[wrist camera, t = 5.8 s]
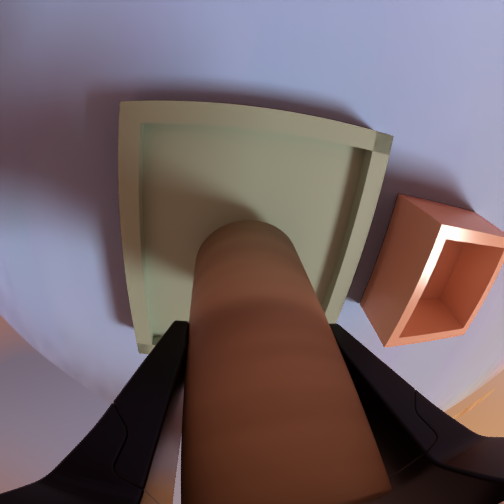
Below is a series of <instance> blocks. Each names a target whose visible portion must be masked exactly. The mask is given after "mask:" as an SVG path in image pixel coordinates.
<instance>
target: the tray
mask: <svg viewBox="0 0 504 504" xmlns="http://www.w3.org/2000/svg"><path fill="white" fill-rule="evenodd" d="M392 141H393V136H391V135H388V134H385V133H381V132H378V131H375V130H371V129H367V128H364V127H360V126H356V125H352V124H348V123H344V122H340V121H335V120H331V119H326V118H322V117H317V116H312V115H307V114H301V113H296V112H290V111H284V110H277V109H270V108H263V107H255V106H247V105H238V104H227V103H215V102H199V101H170V100H146V101H121V102H120V108H119V128H118V192H119V213H120V227H121V239H122V250H123V259H124V268H125V276H126V283H127V290H128V297H129V303H130V309H131V315H132V320H133V326H134V331H135V336H136V341H137V346H138V351H139V353H143V354H149V353H150V352H151V351H152V349H153V348H154V347H155V345H156V344H157V343H158V341H159V340H160V339H161V337H162V336H163V335H164V333H165V332H166V331H167V330H168V328H169V327H170V326H171V324H172V323H173V322H174V321H175V320H180V321H188V322H189V317H190V306H191V297H192V288H193V279H194V270H195V262H196V257H197V253H198V251H199V248H200V246H201V245H202V243H203V242H204V241H205V239H206V238H207V237H208V236H209V235H210V234H211V233H213V232H214V231H215V230H217V229H218V228H220V227H222V226H224V225H226V224H229V223H232V222H236V221H243V220H256V221H262V222H265V223H269V224H271V225H273V226H275V227H277V228H279V229H280V230H281V231H283V232H284V233H285V234H286V235H287V236H288V237H289V238H290V240H291V241H292V243H293V245H294V247H295V249H296V251H297V253H298V256H299V258H300V260H301V262H302V264H303V267H304V269H305V271H306V273H307V275H308V278H309V280H310V282H311V284H312V287H313V289H314V291H315V293H316V296H317V298H318V300H319V302H320V305H321V307H322V309H323V311H324V314H325V316H326V318H327V321H328V323H329V324H332V323H336V322H337V319H338V317H339V314H340V312H341V309H342V306H343V304H344V301H345V299H346V296H347V293H348V291H349V288H350V285H351V283H352V280H353V277H354V274H355V271H356V269H357V266H358V263H359V260H360V257H361V254H362V251H363V248H364V245H365V242H366V239H367V235H368V232H369V229H370V226H371V222H372V219H373V216H374V212H375V209H376V205H377V202H378V198H379V194H380V191H381V187H382V183H383V179H384V175H385V171H386V167H387V163H388V159H389V154H390V150H391V145H392Z"/></svg>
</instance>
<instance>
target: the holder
mask: <svg viewBox="0 0 504 504" xmlns="http://www.w3.org/2000/svg"><path fill="white" fill-rule="evenodd" d="M503 263H504V232H503V231H501V230H500V229H499V228H497V227H496V226H494V225H493V224H492V223H490V222H489V221H487V220H486V219H484V218H483V217H482V216H480V215H479V214H477V213H475V212H472V211H468V210H465V209H461V208H457V207H453V206H450V205H446V204H442V203H438V202H434V201H429V200H425V199H421V198H417V197H412V196H408V195H403V194H398V197H397V200H396V204H395V207H394V210H393V214H392V217H391V220H390V223H389V226H388V229H387V232H386V235H385V238H384V241H383V244H382V247H381V250H380V253H379V256H378V258H377V261H376V264H375V267H374V269H373V272H372V275H371V277H370V280H369V282H368V285H367V287H366V290H365V292H364V295H363V297H362V300H361V302H360V305H361V307H362V308H363V310H364V312H365V314H366V315H367V317H368V319H369V321H370V322H371V324H372V326H373V328H374V329H375V331H376V333H377V335H378V337H379V338H380V340H381V342H382V344H383V346H384V347H391V346H399V345H406V344H413V343H420V342H426V341H432V340H438V339H443V338H449V337H454V336H459V335H464V334H465V332H466V330H467V329H468V327H469V326H470V324H471V322H472V321H473V319H474V318H475V316H476V314H477V313H478V311H479V309H480V307H481V306H482V304H483V302H484V300H485V298H486V297H487V295H488V293H489V291H490V289H491V287H492V285H493V283H494V281H495V279H496V277H497V275H498V273H499V271H500V269H501V267H502V265H503Z"/></svg>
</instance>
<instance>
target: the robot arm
mask: <svg viewBox="0 0 504 504" xmlns="http://www.w3.org/2000/svg"><path fill="white" fill-rule="evenodd" d="M329 325H330V328H331V330H332V332H333V335H334V337H335V340H336V342H337V344H338V347H339V349H340V352H341V354H342V356H343V359H344V361H345V364H346V366H347V369H348V371H349V374H350V376H351V379H352V381H353V384H354V386H355V389H356V391H357V394H358V396H359V399H360V401H361V404H362V407H363V409H364V412H365V414H366V417H367V420H368V422H369V425H370V428H371V430H372V433H373V436H374V439H375V441H376V444H377V447H378V450H379V452H380V455H381V458H382V461H383V464H384V467H385V470H386V473H387V475H388V478H389V481H390V484H391V487H392V491H391V492H390V493H388V494H387V495H385V496H383V497H381V498H379V499H377V500H375V501H373V502H370V503H368V504H504V437H485V436H481V435H478V434H476V433H474V432H472V431H471V430H469V429H468V428H466V427H465V426H463V425H462V424H460V423H459V422H457V421H456V420H455V419H453V418H452V417H450V416H449V415H447V414H446V413H445V412H443V411H442V410H440V409H439V408H438V407H436V406H435V405H434V404H432V403H431V402H430V401H429V400H428V399H426V398H425V397H424V396H423V395H421V394H420V393H419V392H418V391H417V390H415V389H414V388H413V387H412V386H411V385H410V384H408V383H407V382H406V381H405V380H404V379H402V378H401V377H400V376H399V375H398V374H397V373H395V372H394V371H393V370H392V369H391V368H389V367H388V366H387V365H386V364H385V363H384V362H382V361H381V360H380V359H379V358H378V357H376V356H375V355H374V354H373V353H372V352H371V351H369V350H368V349H367V348H366V347H365V346H363V345H362V344H361V343H360V342H359V341H358V340H356V339H355V338H354V337H353V336H352V335H350V334H349V333H348V332H347V331H346V330H344V329H343V328H342V327H341V326H340V325H338V324H336V323H332V324H329ZM188 330H189V322H188V321H180V320H175V321H174V322H173V323H172V324H171V326H170V327H169V328H168V330H167V331H166V332H165V333H164V335H163V336H162V337H161V339H160V340H159V341H158V343H157V344H156V345H155V347H154V348H153V349H152V351H151V352H150V353H149V355H148V356H147V357H146V359H145V360H144V361H143V363H142V364H141V365H140V367H139V368H138V369H137V371H136V372H135V373H134V375H133V376H132V377H131V379H130V380H129V381H128V383H127V384H126V385H125V387H124V388H123V389H122V391H121V392H120V393H119V395H118V396H117V397H116V399H115V400H114V404H115V405H114V404H111V405H110V407H109V408H108V409H107V411H106V412H105V414H104V415H103V417H102V418H101V419H100V420H99V421H98V423H97V424H96V425H95V426H94V428H93V429H92V430H91V431H90V432H89V433H88V434H87V435H86V436H85V437H84V439H83V440H82V441H81V442H80V443H79V444H78V445H77V446H76V447H75V448H74V449H73V450H72V451H71V452H70V453H69V454H68V455H67V457H65V458H64V459H63V461H61V463H60V464H59V465H58V466H57V467H56V468H55V469H54V470H53V471H52V472H50V473H49V474H48V475H47V476H45V477H44V478H42V479H40V480H38V481H36V482H34V483H31V484H28V485H25V486H23V487H20V488H17V489H14V490H11V491H7V492H4V493H1V494H0V504H172V503H173V494H174V485H175V478H176V469H177V462H178V455H179V447H180V440H181V433H182V415H183V395H184V378H185V365H186V354H187V342H188Z"/></svg>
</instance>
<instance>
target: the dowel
mask: <svg viewBox="0 0 504 504" xmlns="http://www.w3.org/2000/svg"><path fill="white" fill-rule="evenodd" d="M391 491H392V487H391V484H390V481H389V478H388V475H387V473H386V470H385V467H384V464H383V461H382V458H381V455H380V452H379V450H378V447H377V444H376V441H375V439H374V436H373V433H372V430H371V428H370V425H369V422H368V420H367V417H366V414H365V412H364V409H363V407H362V404H361V401H360V399H359V396H358V394H357V391H356V389H355V386H354V384H353V381H352V379H351V376H350V374H349V371H348V369H347V366H346V364H345V361H344V359H343V356H342V354H341V352H340V349H339V347H338V344H337V342H336V340H335V337H334V335H333V332H332V330H331V328H330V325H329V323H328V321H327V318H326V316H325V314H324V311H323V309H322V307H321V305H320V302H319V300H318V298H317V296H316V293H315V291H314V289H313V287H312V284H311V282H310V280H309V278H308V275H307V273H306V271H305V269H304V267H303V264H302V262H301V260H300V258H299V256H298V253H297V251H296V249H295V247H294V245H293V243H292V241H291V240H290V238H289V237H288V236H287V235H286V234H285V233H284V232H283V231H281V230H280V229H279V228H277V227H275V226H273V225H271V224H269V223H265V222H262V221H256V220H243V221H236V222H232V223H229V224H226V225H224V226H222V227H220V228H218V229H217V230H215V231H214V232H213V233H211V234H210V235H209V236H208V237H207V238H206V239H205V241H204V242H203V243H202V245H201V246H200V248H199V251H198V253H197V257H196V262H195V270H194V279H193V288H192V297H191V306H190V317H189V330H188V342H187V354H186V365H185V378H184V395H183V415H182V444H181V504H368V503H370V502H373V501H375V500H377V499H379V498H381V497H383V496H385V495H387V494H388V493H390V492H391Z"/></svg>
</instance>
